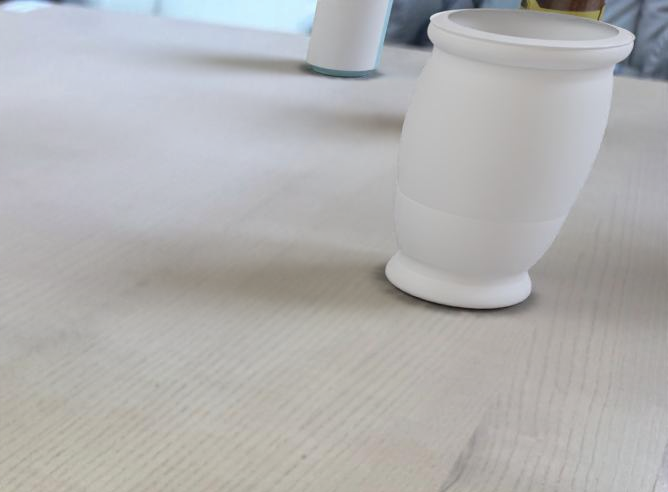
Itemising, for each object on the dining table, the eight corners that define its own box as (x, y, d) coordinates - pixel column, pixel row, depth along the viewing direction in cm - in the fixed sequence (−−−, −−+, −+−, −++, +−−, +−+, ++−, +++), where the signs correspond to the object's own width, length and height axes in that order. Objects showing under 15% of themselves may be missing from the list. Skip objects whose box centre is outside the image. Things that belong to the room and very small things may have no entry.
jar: (433, 326, 69) (513, 47, 60) (333, 262, 77) (392, 8, 68) (586, 309, 71) (684, 40, 63) (474, 249, 79) (547, 3, 71)
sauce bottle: (509, 119, 107) (584, -138, 96) (577, 135, 103) (664, -131, 92) (470, 130, 104) (544, -134, 92) (540, 147, 100) (625, -127, 88)
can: (293, 70, 121) (318, -63, 114) (320, 58, 126) (346, -70, 119) (361, 82, 118) (391, -55, 111) (386, 69, 122) (417, -63, 115)
